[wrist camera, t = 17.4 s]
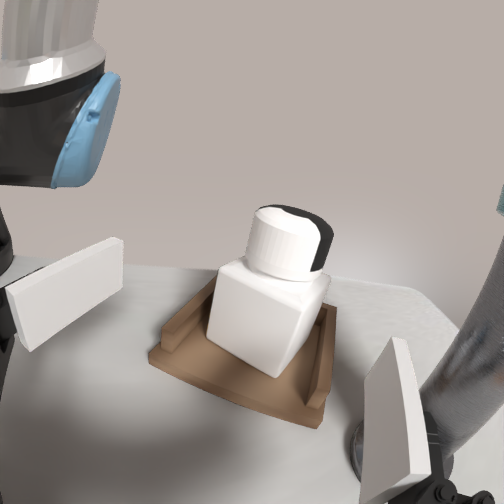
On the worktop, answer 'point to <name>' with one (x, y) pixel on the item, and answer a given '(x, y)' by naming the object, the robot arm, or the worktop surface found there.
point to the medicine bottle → (272, 289)
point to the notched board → (244, 375)
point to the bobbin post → (464, 373)
